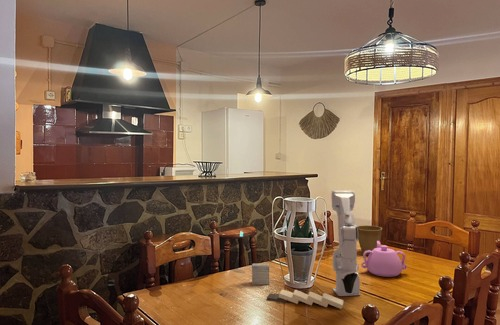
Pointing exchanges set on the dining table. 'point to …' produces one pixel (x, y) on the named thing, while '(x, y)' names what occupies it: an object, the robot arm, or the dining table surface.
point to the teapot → (384, 261)
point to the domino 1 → (275, 298)
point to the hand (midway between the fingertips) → (348, 292)
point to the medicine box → (260, 274)
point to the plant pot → (368, 237)
